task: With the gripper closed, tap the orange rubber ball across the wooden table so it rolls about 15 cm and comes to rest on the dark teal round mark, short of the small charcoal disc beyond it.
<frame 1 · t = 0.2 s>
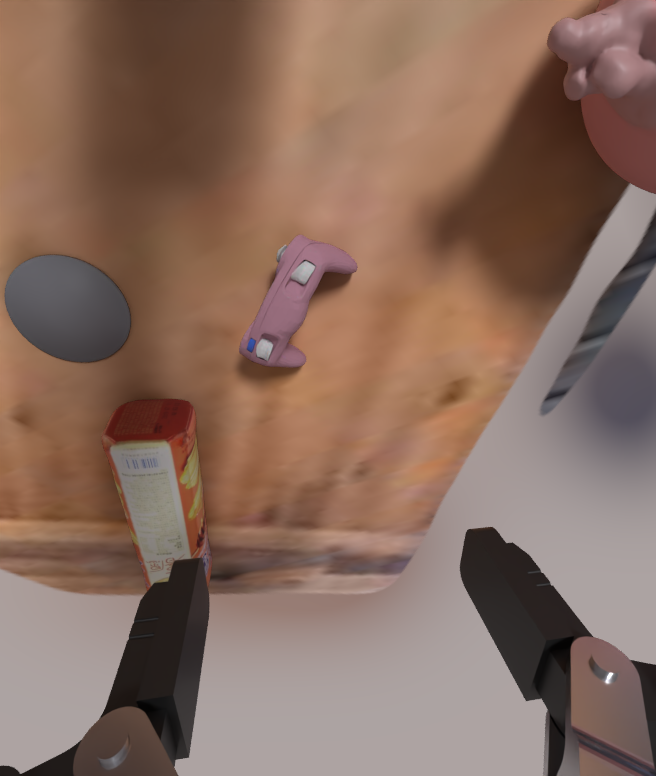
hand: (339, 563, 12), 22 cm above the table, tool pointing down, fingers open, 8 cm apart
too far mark: (70, 311, 29), on the table
snack package: (176, 482, 39), on the table
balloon: (605, 55, 25), on the table
video game controller: (294, 296, 31), on the table
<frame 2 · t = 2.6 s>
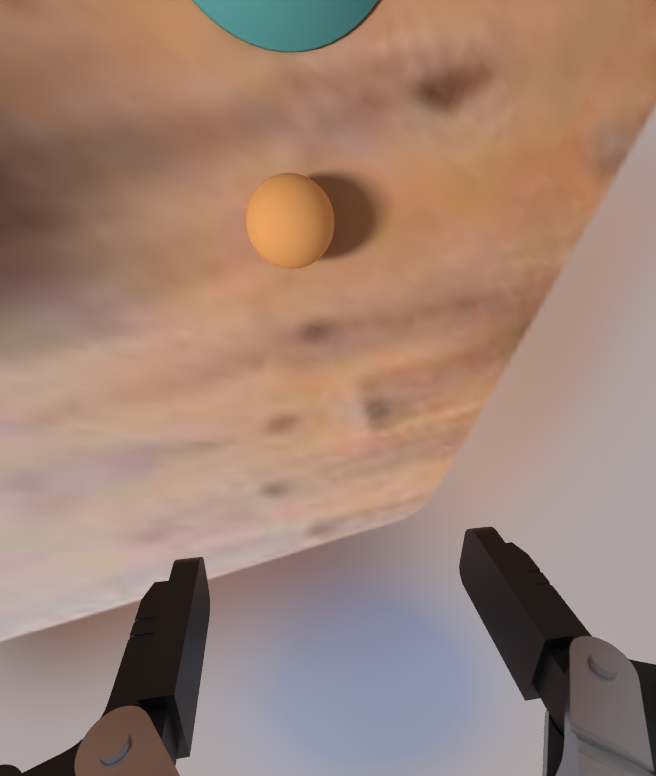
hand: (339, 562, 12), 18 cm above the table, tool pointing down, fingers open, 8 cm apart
ball: (290, 222, 23), on the table
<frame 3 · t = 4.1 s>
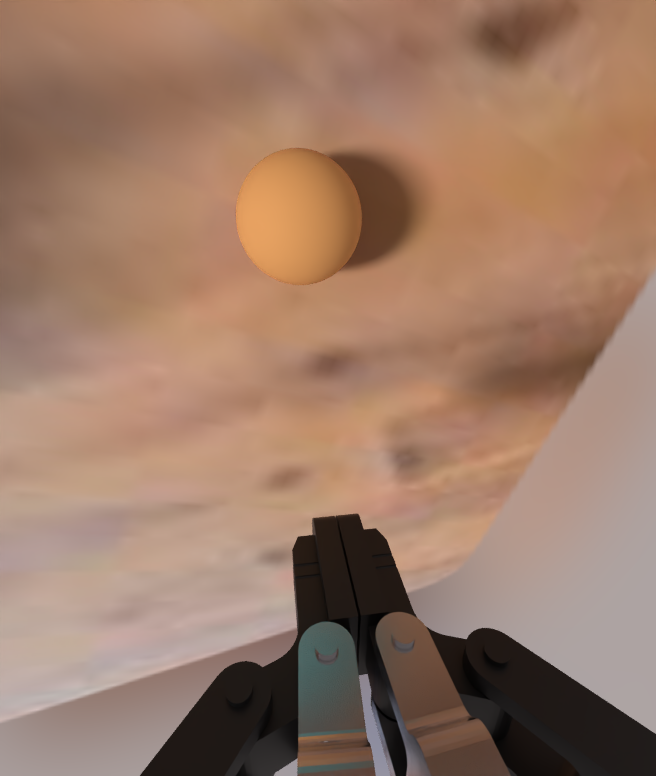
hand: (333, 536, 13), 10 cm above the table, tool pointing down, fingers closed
ball: (299, 220, 16), on the table
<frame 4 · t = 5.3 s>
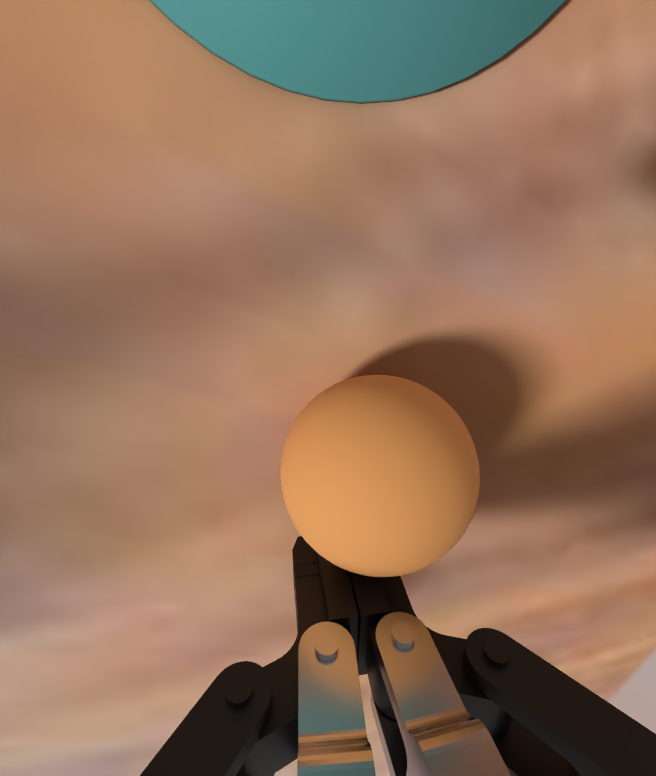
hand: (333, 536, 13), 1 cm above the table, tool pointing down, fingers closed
ball: (377, 470, 10), on the table, touching gripper
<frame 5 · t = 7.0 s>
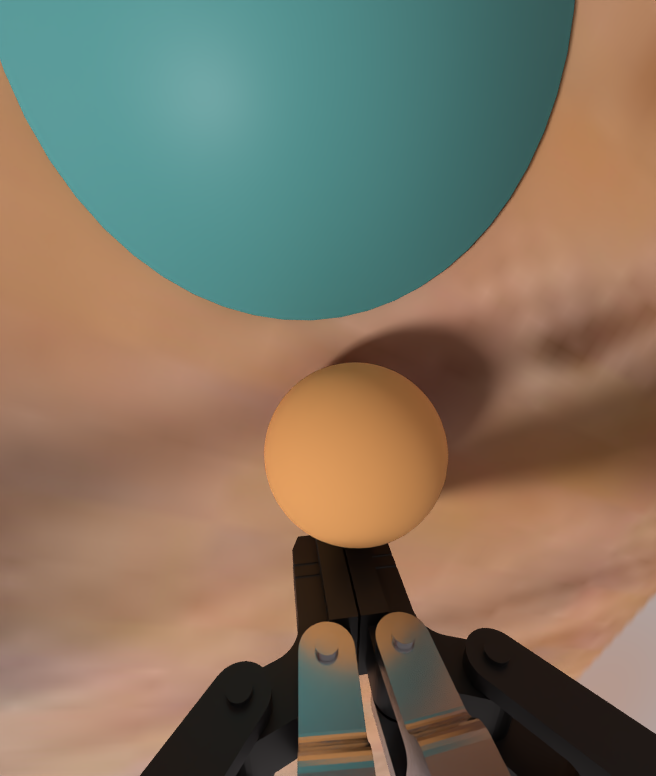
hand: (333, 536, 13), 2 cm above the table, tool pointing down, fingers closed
ball: (354, 452, 11), on the table, touching gripper
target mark: (306, 40, 9), on the table
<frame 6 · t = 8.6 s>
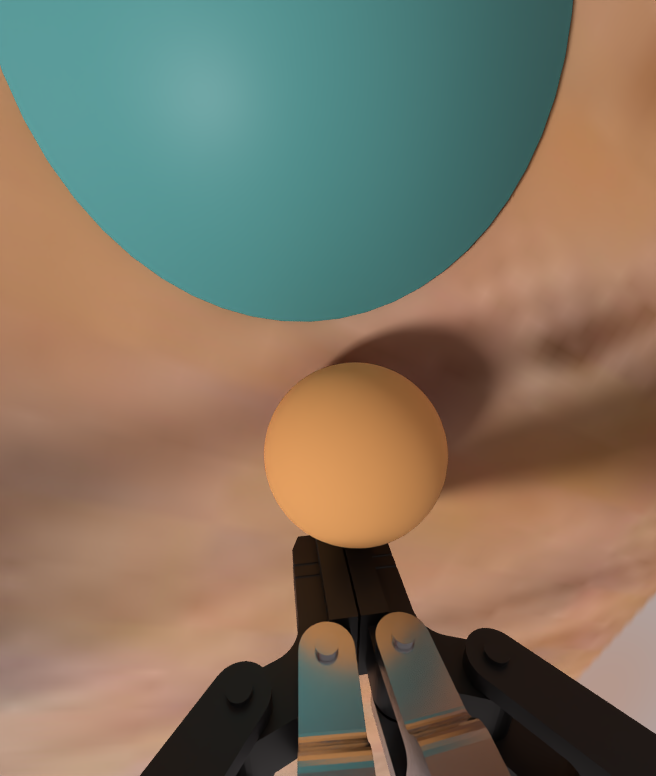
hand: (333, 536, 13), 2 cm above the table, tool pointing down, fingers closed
ball: (354, 452, 11), on the table, touching gripper
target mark: (304, 42, 9), on the table
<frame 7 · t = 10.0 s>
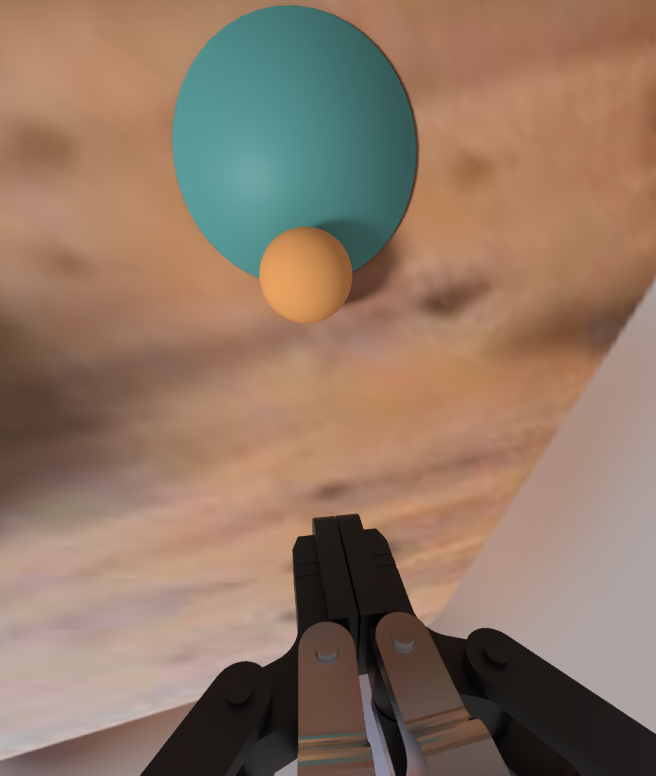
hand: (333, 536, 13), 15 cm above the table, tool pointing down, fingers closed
ball: (306, 276, 21), on the table
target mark: (298, 163, 21), on the table
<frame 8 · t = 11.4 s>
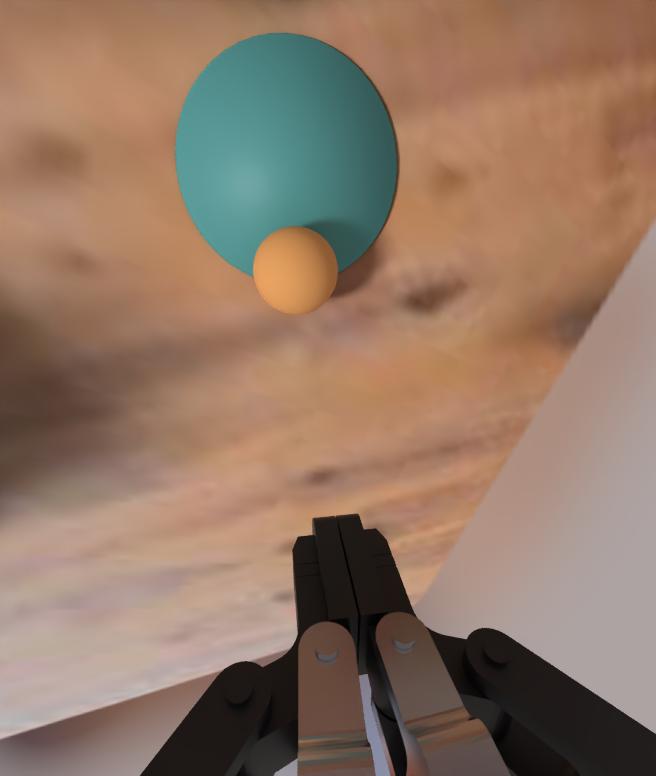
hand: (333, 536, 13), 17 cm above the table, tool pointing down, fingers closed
ball: (295, 271, 24), on the table
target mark: (290, 173, 24), on the table
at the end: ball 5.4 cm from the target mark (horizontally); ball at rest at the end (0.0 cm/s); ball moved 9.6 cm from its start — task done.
